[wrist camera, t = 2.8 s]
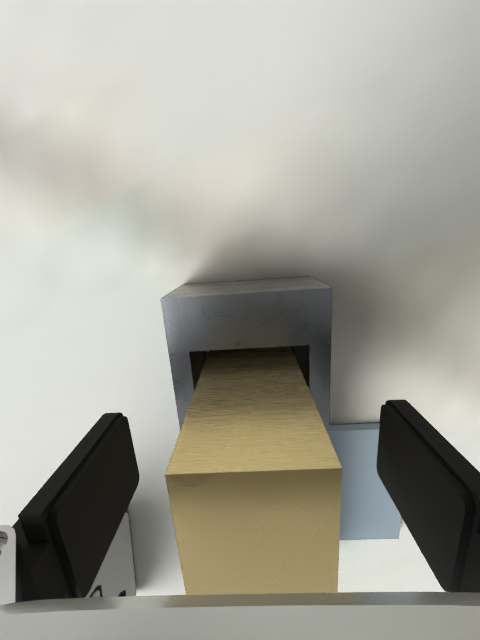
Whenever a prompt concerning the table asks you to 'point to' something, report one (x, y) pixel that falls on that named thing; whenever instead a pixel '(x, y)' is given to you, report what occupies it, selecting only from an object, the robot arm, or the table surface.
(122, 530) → the electrical switch
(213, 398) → the brass peg
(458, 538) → the robot arm
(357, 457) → the rubber mat
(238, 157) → the table surface
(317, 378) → the rail
